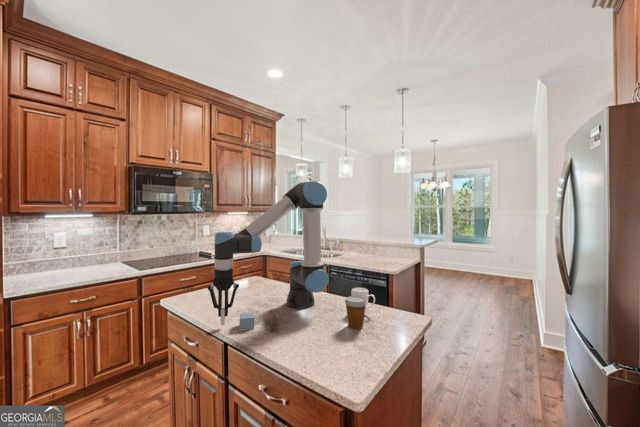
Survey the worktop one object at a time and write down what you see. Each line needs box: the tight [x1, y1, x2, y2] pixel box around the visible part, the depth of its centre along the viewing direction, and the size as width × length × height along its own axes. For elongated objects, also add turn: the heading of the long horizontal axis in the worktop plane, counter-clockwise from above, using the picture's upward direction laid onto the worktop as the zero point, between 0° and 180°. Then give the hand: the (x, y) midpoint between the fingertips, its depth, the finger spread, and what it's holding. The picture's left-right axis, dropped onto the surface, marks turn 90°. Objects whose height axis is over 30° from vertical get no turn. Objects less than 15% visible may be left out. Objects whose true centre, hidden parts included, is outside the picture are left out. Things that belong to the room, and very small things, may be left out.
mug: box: [350, 287, 376, 311], centre depth 141 cm, size 12×8×11 cm
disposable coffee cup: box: [344, 295, 368, 330], centre depth 125 cm, size 10×10×12 cm
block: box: [238, 312, 255, 331], centre depth 124 cm, size 6×6×5 cm
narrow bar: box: [268, 309, 279, 333], centre depth 126 cm, size 3×16×4 cm, turn 13°
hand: (222, 323), depth 122 cm, fingers closed
